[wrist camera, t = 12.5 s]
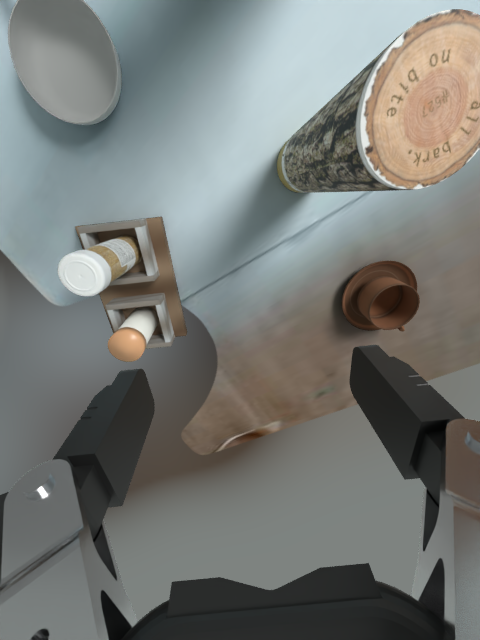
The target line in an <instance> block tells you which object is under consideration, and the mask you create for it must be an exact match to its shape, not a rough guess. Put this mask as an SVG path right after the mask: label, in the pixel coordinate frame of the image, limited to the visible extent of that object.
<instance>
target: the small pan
mask: <svg viewBox="0 0 480 640" xmlns="http://www.w3.org/2000/svg"><path fill="white" fill-rule="evenodd" d="M8 43H9V49H10V54H11V58H12V61H13V64H14V68H15V70H16V72H17V74H18V77H19V79H20V80H21V82H22V84H23V86H24V87H25V89H26V90H27V92H28V93H29V94H30V96H31V97H32V98H33V99H34V100H35V101H36V102H37V103H38V104H39V105H40V106H41V107H42V108H43V109H44V110H46V111H47V112H48V113H49V114H51V115H53V116H55V117H56V118H58V119H60V120H63V121H66V122H69V123H72V124H78V125H93V124H97V123H99V122H101V121H103V120H105V119H106V118H107V117H108V116H109V115H110V114H111V113H112V112H113V110H114V109H115V107H116V105H117V103H118V101H119V97H120V93H121V86H122V73H121V66H120V60H119V57H118V54H117V51H116V48H115V46H114V44H113V42H112V39H111V37H110V35H109V33H108V32H107V30H106V28H105V27H104V25H103V23H102V22H101V20H100V18H99V17H98V16H97V15H96V13H95V12H94V11H93V10H92V8H91V7H90V6H89V5H88V4H87V3H85V2H84V1H83V0H17V2H16V4H15V6H14V7H13V9H12V12H11V16H10V19H9V27H8Z"/></svg>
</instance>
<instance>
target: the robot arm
mask: <svg viewBox="0 0 480 640" xmlns="http://www.w3.org/2000/svg"><path fill="white" fill-rule="evenodd" d="M350 388H351V391H352V394H353V396H354V398H355V399H356V401H357V403H358V404H359V406H360V407H361V409H362V411H363V412H364V414H365V416H366V417H367V419H368V420H369V422H370V424H371V425H372V427H373V429H374V430H375V432H376V434H377V435H378V437H379V438H380V440H381V441H382V443H383V445H384V446H385V448H386V450H387V451H388V453H389V454H390V456H391V458H392V460H393V461H394V463H395V464H396V466H397V468H398V469H399V471H400V473H401V474H402V476H403V477H404V479H415V478H420V479H421V480H422V482H423V483H424V485H425V489H424V492H423V504H422V517H421V530H420V543H419V555H418V563H417V568H416V572H415V577H414V582H413V589H412V596H410V595H408V594H406V593H404V592H403V591H401V590H399V589H397V588H395V587H392V586H390V585H387V584H385V583H382V582H378V581H375V579H374V576H373V573H372V571H371V568H370V565H369V563H366V564H356V565H345V566H335V567H324V568H319V569H317V570H315V571H313V572H311V573H309V574H306V575H304V576H302V577H300V578H298V579H296V580H294V581H292V582H290V583H288V584H286V585H284V586H282V587H280V588H278V589H275V590H265V589H262V588H258V587H254V586H250V585H246V584H243V583H239V582H235V581H232V580H228V579H224V578H220V577H219V578H209V579H198V580H187V581H177V582H172V586H171V592H170V599H169V600H168V601H166V602H164V603H162V604H161V605H159V606H158V607H156V608H154V609H153V610H151V611H150V612H149V613H148V614H146V615H145V616H144V617H143V618H142V619H140V620H139V621H137V618H136V615H135V612H134V610H133V607H132V605H131V603H130V600H129V598H128V596H127V594H126V592H125V589H124V586H123V583H122V580H121V576H120V573H119V569H118V566H117V563H116V560H115V556H114V552H113V549H112V546H111V542H110V539H109V535H108V532H107V529H106V526H105V523H104V521H103V518H104V516H105V513H106V510H107V508H108V507H116V506H122V505H123V502H124V500H125V497H126V494H127V491H128V488H129V485H130V482H131V479H132V476H133V473H134V470H135V467H136V465H137V462H138V459H139V456H140V453H141V450H142V447H143V444H144V442H145V439H146V435H147V433H148V430H149V427H150V424H151V421H152V418H153V415H154V399H153V396H152V393H151V390H150V387H149V384H148V381H147V378H146V374H145V372H144V370H143V369H134V370H126V371H120V372H119V374H118V375H117V377H116V378H115V380H114V382H113V383H112V385H110V386H106V387H105V388H104V389H103V390H102V391H100V392H99V393H98V394H97V395H96V396H95V397H94V398H93V400H92V401H91V403H90V404H89V406H88V407H87V410H86V411H85V412H84V413H83V415H82V416H81V420H79V421H78V422H77V424H76V425H75V427H74V428H73V430H72V431H71V433H70V434H69V436H68V437H67V439H66V440H65V442H64V443H63V445H62V446H61V448H60V449H59V451H58V452H57V454H56V455H55V457H54V458H53V460H50V461H47V462H44V463H42V464H40V465H38V466H36V467H34V468H33V469H31V470H30V471H29V472H27V473H26V474H25V475H24V476H22V477H21V478H20V479H19V480H18V481H17V482H16V483H15V485H14V486H13V487H12V488H11V490H10V491H9V492H7V493H5V494H2V495H0V640H480V421H476V420H471V419H465V418H464V417H463V416H462V415H461V414H460V413H459V412H458V411H457V410H456V409H454V407H453V406H451V405H450V404H449V403H448V402H447V401H446V400H445V399H444V398H443V397H442V396H441V395H440V394H439V393H438V392H437V391H436V390H435V389H433V388H432V387H431V386H430V385H428V383H427V382H426V381H425V380H424V379H423V378H422V377H419V374H418V373H417V372H416V371H415V370H414V369H413V368H412V367H410V366H409V365H408V364H407V363H405V362H403V361H401V360H399V359H397V358H395V357H389V356H388V355H387V354H386V353H385V352H384V351H383V350H382V349H381V348H380V347H379V346H378V345H369V346H360V347H355V348H354V349H353V354H352V363H351V372H350Z"/></svg>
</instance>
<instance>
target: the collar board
mask: <svg viewBox="0 0 480 640" xmlns="http://www.w3.org/2000/svg"><path fill="white" fill-rule="evenodd" d="M75 228H76V231H77V234H78V237H79V239H80V242H81V245H82V248H83V250H86V249H88V248H90V247H92V246H94V245H97V244H100V243H103V242H106V241H108V240H111V239H115V238H117V237H118V236H121V235H128V236H131V237H133V238H135V239H136V240H137V241H138V242H139V245H140V249H141V253H142V260H141V261H140V262H139V263H138V264H137V265H135V266H133V267H132V268H131V269H130V270H128V271H127V272H125V273H124V274H123V275H121V276H120V277H118V278H117V279H115V280H113V281H112V282H110V284H109V285H108V286H107V288H105V289H104V290H103V291H101V292H100V293H99V295H100V297H101V300H102V303H103V305H104V308H105V311H106V314H107V317H108V319H109V322H110V325H111V328H112V330H113V333H115V331H117V330H118V329H119V328H120V327H121V325H122V324H123V323H124V322H125V320H126V319H127V318H128V317H129V316H130V314H131V313H132V312H133V311H134V310H135V309H136V308H137V307H143V306H147V307H150V308H152V309H153V310H155V311H156V313H157V314H158V317H159V323H158V325H157V327H156V329H155V331H154V332H153V334H152V336H151V338H150V340H149V341H148V343H147V345H146V348H145V349H150V348H159V347H168V346H172V343H173V341H174V338H175V337H177V336H186V334H187V329H186V325H185V320H184V316H183V312H182V306H181V302H180V297H179V292H178V288H177V283H176V279H175V274H174V270H173V265H172V260H171V256H170V251H169V247H168V242H167V237H166V233H165V228H164V224H163V219H162V217H155V218H146V219H137V220H128V221H119V222H110V223H101V224H92V225H83V226H77V227H75Z"/></svg>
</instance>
